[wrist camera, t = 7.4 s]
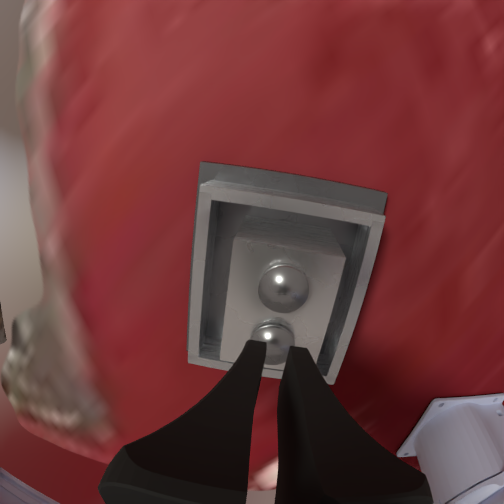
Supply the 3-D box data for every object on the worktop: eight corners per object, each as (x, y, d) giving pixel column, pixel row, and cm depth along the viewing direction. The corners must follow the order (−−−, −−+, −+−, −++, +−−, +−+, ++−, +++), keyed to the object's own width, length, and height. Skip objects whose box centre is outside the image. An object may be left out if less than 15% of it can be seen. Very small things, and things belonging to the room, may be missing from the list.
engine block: (330, 228, 16) (348, 262, 12) (307, 325, 18) (313, 380, 14) (246, 214, 17) (231, 243, 12) (233, 313, 19) (217, 366, 14)
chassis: (384, 191, 16) (402, 200, 13) (334, 367, 20) (339, 395, 17) (203, 161, 17) (188, 164, 14) (188, 345, 21) (177, 371, 18)
